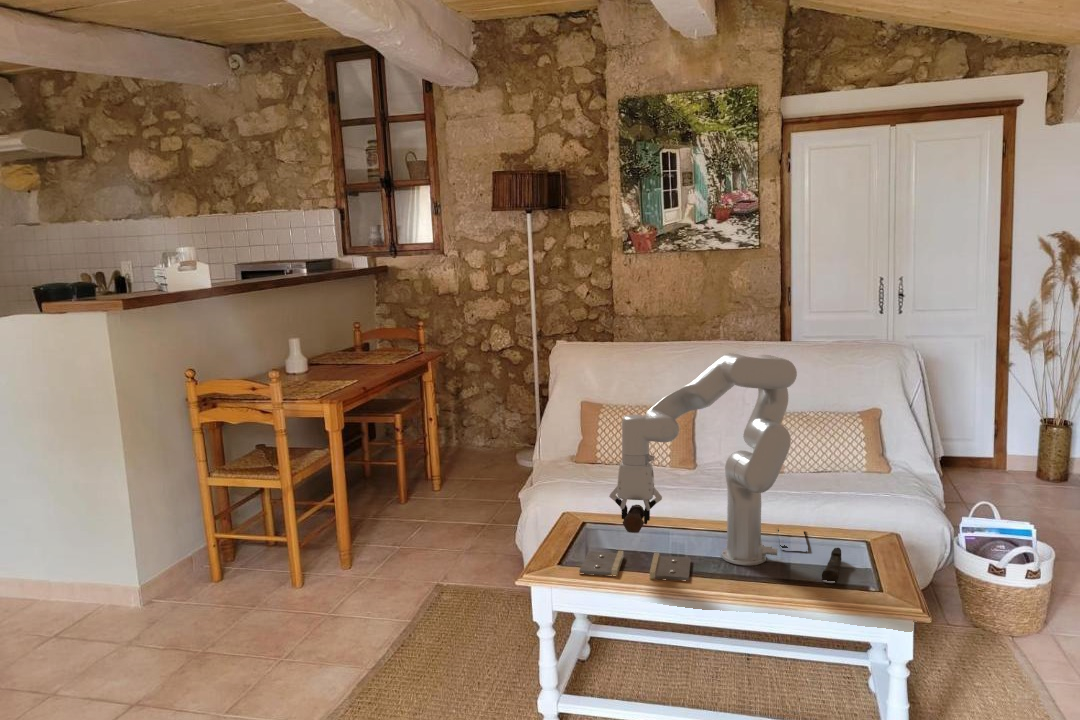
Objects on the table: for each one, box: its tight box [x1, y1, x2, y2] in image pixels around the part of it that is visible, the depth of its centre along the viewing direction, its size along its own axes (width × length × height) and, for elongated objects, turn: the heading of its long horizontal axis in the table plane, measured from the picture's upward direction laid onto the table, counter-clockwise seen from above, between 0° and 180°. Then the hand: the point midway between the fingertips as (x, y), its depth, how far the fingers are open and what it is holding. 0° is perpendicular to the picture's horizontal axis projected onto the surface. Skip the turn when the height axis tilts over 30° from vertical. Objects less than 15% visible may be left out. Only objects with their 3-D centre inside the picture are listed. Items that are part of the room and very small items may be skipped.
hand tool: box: [821, 547, 842, 583], centre depth 220 cm, size 19×4×5 cm, turn 150°
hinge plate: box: [579, 550, 692, 581], centre depth 226 cm, size 30×15×2 cm, turn 77°
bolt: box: [622, 504, 645, 534], centre depth 224 cm, size 6×5×15 cm
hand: (635, 521), depth 224 cm, fingers closed on bolt, 5 cm apart
